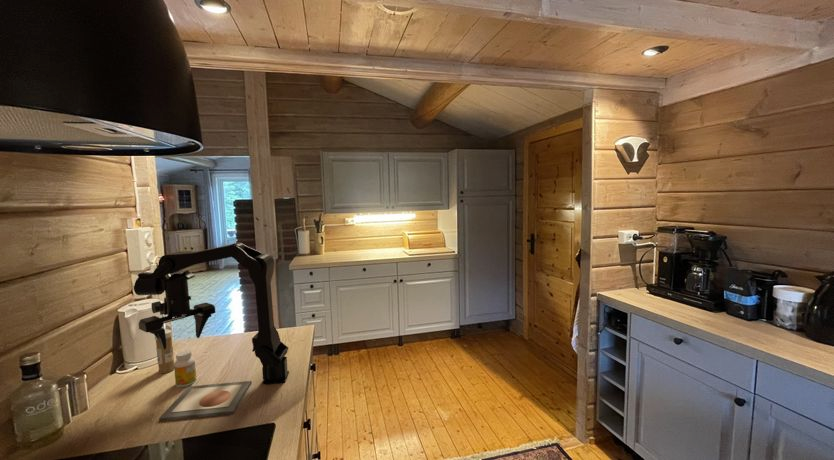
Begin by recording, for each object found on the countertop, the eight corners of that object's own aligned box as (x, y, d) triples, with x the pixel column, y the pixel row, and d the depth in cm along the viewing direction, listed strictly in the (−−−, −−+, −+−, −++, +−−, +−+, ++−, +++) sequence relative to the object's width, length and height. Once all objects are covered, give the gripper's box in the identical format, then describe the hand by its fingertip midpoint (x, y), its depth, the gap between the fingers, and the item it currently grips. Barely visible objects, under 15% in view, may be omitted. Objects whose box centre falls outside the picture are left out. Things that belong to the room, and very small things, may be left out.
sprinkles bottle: (174, 371, 114) (171, 332, 112) (157, 375, 111) (153, 335, 110) (175, 365, 117) (171, 328, 116) (158, 369, 115) (155, 331, 113)
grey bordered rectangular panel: (251, 383, 106) (251, 379, 105) (233, 413, 91) (233, 409, 91) (188, 388, 103) (188, 385, 103) (159, 421, 88) (158, 417, 88)
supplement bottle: (171, 385, 105) (168, 355, 104) (189, 376, 110) (186, 347, 109) (183, 389, 103) (180, 358, 102) (200, 379, 108) (198, 350, 107)
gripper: (197, 283, 115) (200, 327, 117) (128, 298, 99) (133, 349, 101) (214, 287, 109) (218, 334, 111) (144, 304, 94) (149, 358, 95)
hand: (181, 343), depth 105 cm, fingers open, 9 cm apart
